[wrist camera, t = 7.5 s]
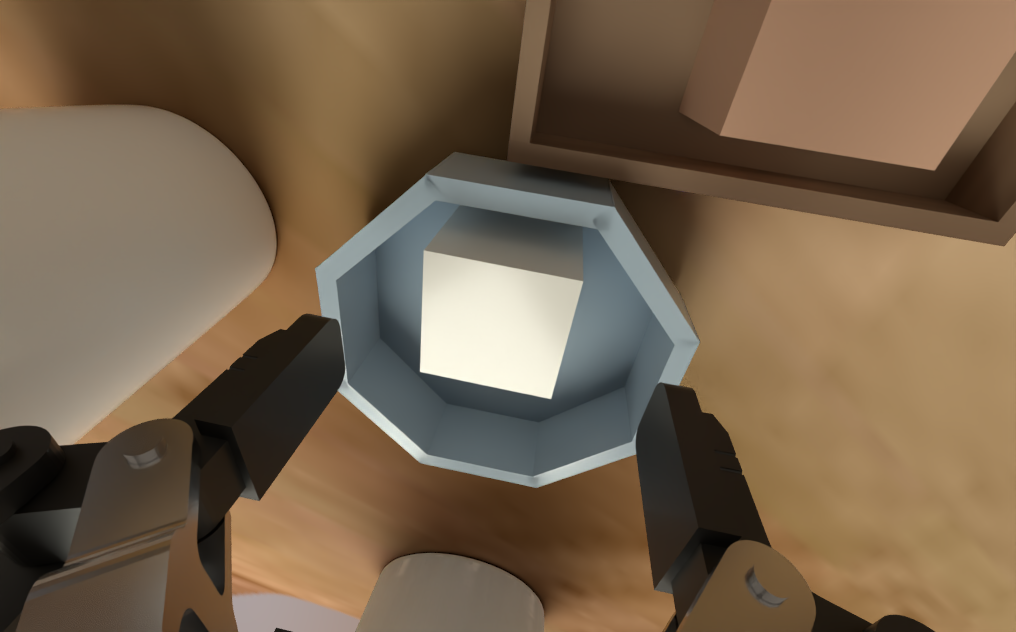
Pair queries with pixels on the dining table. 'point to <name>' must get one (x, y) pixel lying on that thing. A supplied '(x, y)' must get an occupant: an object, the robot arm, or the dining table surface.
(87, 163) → the candle holder
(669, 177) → the walnut tray
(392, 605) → the utensil holder
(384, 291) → the ceramic bowl
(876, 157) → the tan cube
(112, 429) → the dining table surface
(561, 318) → the off-white cube
